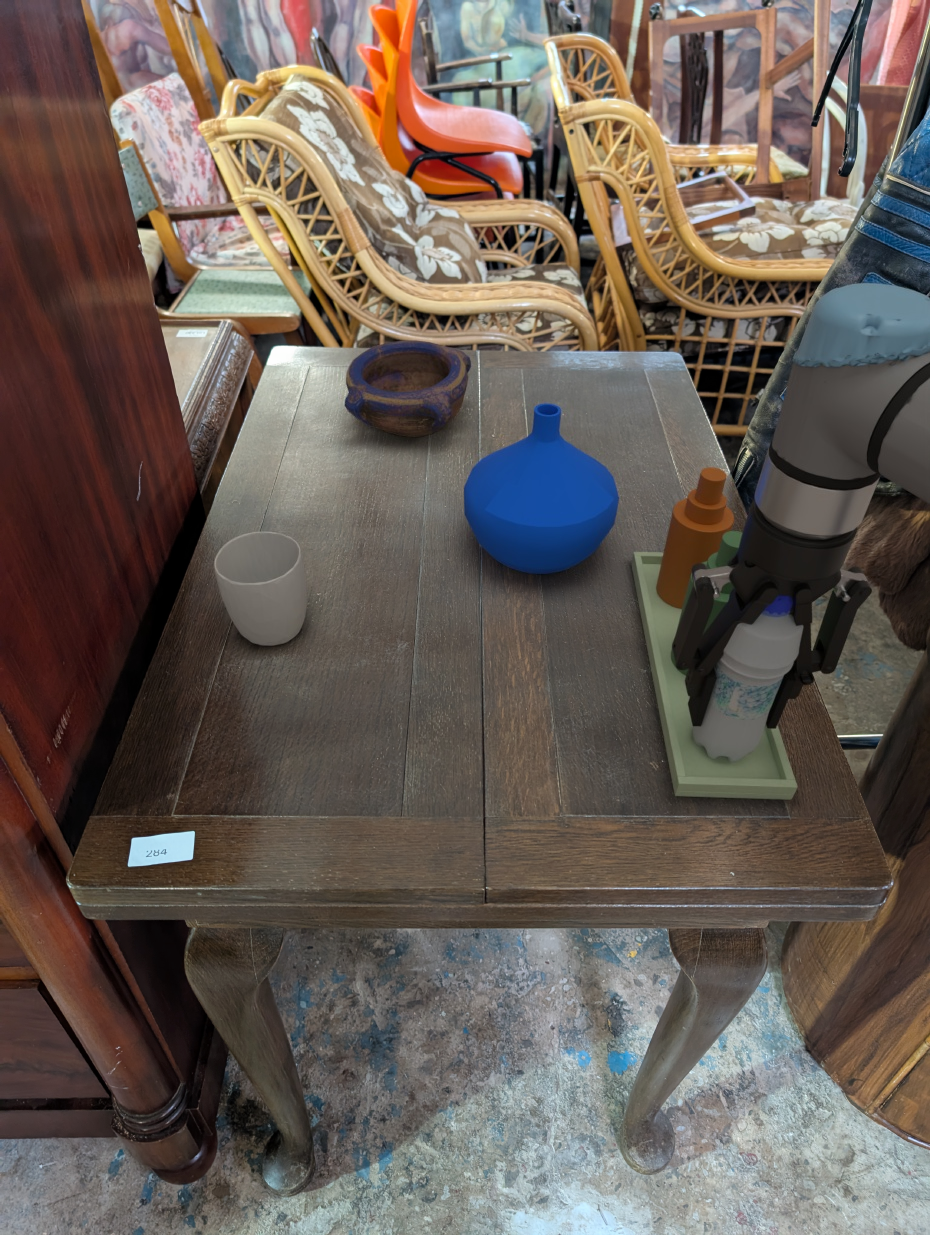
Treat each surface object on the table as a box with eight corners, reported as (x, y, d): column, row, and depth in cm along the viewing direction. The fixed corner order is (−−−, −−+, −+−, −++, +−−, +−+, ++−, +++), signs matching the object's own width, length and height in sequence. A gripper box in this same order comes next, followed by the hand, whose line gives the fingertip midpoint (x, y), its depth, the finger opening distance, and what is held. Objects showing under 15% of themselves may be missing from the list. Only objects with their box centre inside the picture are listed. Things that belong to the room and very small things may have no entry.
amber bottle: (720, 607, 90) (756, 488, 79) (666, 612, 90) (694, 493, 79) (700, 571, 95) (731, 455, 84) (648, 576, 94) (673, 459, 83)
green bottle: (741, 678, 82) (784, 557, 71) (682, 684, 81) (716, 563, 71) (718, 635, 87) (755, 516, 76) (662, 641, 86) (691, 521, 75)
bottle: (702, 704, 80) (752, 546, 66) (767, 735, 77) (834, 576, 63) (674, 747, 76) (721, 588, 62) (741, 782, 73) (806, 623, 59)
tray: (791, 800, 72) (798, 787, 71) (674, 796, 72) (678, 783, 71) (718, 566, 97) (721, 553, 95) (631, 564, 97) (633, 551, 96)
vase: (475, 604, 92) (478, 461, 79) (453, 512, 105) (452, 377, 92) (628, 589, 94) (656, 447, 81) (588, 501, 107) (605, 366, 94)
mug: (312, 652, 86) (299, 581, 79) (227, 658, 85) (207, 587, 78) (315, 577, 95) (304, 508, 88) (239, 582, 94) (222, 512, 88)
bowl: (333, 447, 117) (325, 383, 110) (372, 391, 130) (367, 331, 123) (451, 462, 114) (450, 398, 107) (479, 403, 127) (480, 343, 120)
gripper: (918, 485, 60) (822, 688, 76) (665, 479, 61) (623, 683, 76) (959, 545, 55) (847, 751, 71) (682, 539, 55) (632, 745, 71)
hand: (731, 715), depth 73 cm, fingers closed on bottle, 6 cm apart
